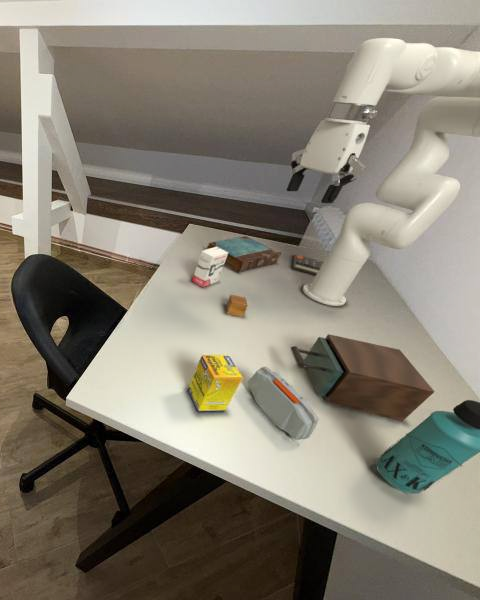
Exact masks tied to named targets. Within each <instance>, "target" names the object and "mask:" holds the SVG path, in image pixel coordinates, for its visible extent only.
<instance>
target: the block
mask: <svg viewBox="0 0 480 600" xmlns="http://www.w3.org/2000/svg"><path fill="white" fill-rule="evenodd" d="M247 308H248V301H247V298H246V297H245V296H241V295H237V294H236V295H235V294H232V293H230V294H229V297H228V299H227V301H226V304H225V309H226V314H228V315H232V316H236V317H241V318H242V317H243V316H244V314H245V313H246V309H247Z"/></svg>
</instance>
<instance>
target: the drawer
mask: <svg viewBox="0 0 480 600" xmlns="http://www.w3.org/2000/svg"><path fill="white" fill-rule="evenodd" d="M325 338H326V337H321V336H318V338H317V339H316V341H315V342H314V344H313V345H312V347H311V348H310V350H306V349H301V348H298V346H296V345H292V346H290V350H291V353H292V355H293V358H294V361H295V363H296V366H297V367H298V368H300V369H301V368H302V369H303V368H306V370H307V372H308V375H309V376H310V377H309V378H310V379H311V381H312V384H313V386H314V388H315V391H316V393H317V395H318V396H320V397H323V396H325V395H326V394H327V392H328V391H329V393H330V392H331V391H332V389H333V388H334V387H335V386H336V384H337V383H338V382H339V381H340V379H341V378H342V377H343V376H344V374H345V373H346V370H345V368H344V367H343V365H342V363H341V361H340V360H339V358H338V356H337V354H336V353H335V351H334V349H333V347H332V346H331V344H330V345H328V343H327V342H326V340H325ZM301 354H305V356H304V358H303V356H302V355H301Z"/></svg>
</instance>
